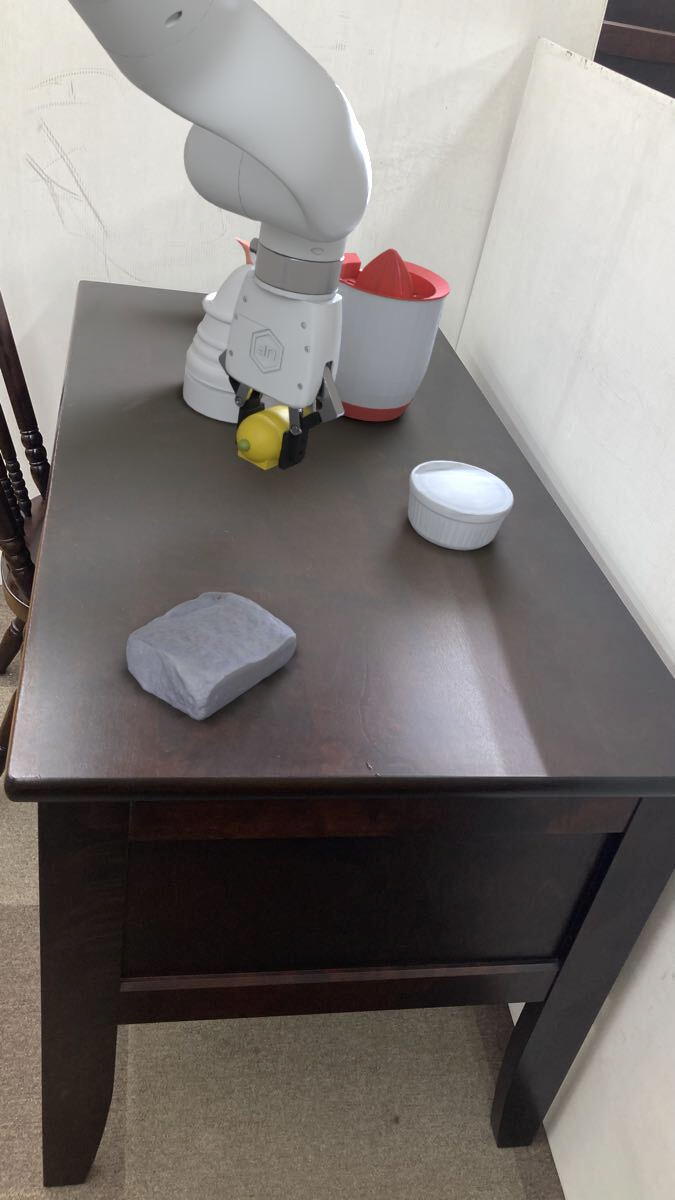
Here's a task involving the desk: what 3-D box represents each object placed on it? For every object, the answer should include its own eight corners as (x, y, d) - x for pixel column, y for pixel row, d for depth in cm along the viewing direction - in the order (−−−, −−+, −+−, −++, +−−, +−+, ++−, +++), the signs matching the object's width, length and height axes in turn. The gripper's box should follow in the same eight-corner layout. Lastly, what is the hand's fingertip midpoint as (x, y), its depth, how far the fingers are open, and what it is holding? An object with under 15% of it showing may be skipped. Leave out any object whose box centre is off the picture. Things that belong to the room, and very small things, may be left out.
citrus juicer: (404, 379, 126) (439, 234, 114) (428, 437, 113) (470, 279, 101) (295, 366, 123) (319, 215, 111) (306, 424, 110) (335, 259, 98)
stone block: (112, 683, 71) (204, 732, 66) (107, 631, 68) (202, 677, 63) (215, 626, 79) (304, 665, 74) (214, 578, 77) (305, 615, 72)
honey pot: (218, 368, 118) (233, 227, 107) (303, 400, 115) (327, 259, 104) (162, 398, 108) (171, 246, 98) (253, 434, 105) (273, 282, 94)
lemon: (256, 479, 85) (263, 433, 82) (218, 458, 87) (224, 413, 84) (316, 452, 92) (324, 409, 89) (280, 433, 93) (287, 391, 91)
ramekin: (443, 491, 102) (455, 450, 99) (520, 539, 97) (535, 497, 94) (378, 516, 95) (388, 473, 92) (456, 569, 90) (470, 526, 87)
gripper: (197, 243, 79) (180, 429, 89) (351, 309, 72) (312, 501, 83) (252, 235, 84) (229, 411, 95) (400, 296, 78) (358, 478, 88)
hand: (268, 451), depth 89 cm, fingers closed on lemon, 4 cm apart
